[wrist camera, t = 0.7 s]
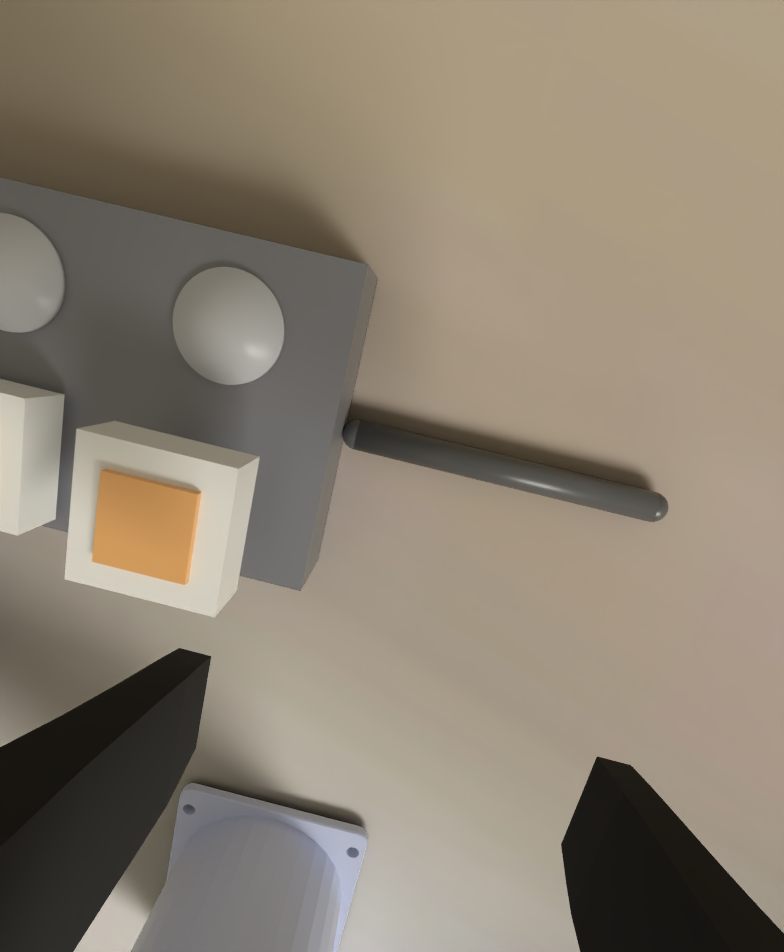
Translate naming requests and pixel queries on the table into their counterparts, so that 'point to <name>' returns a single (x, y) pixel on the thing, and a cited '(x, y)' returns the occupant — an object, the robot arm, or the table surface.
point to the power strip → (221, 361)
